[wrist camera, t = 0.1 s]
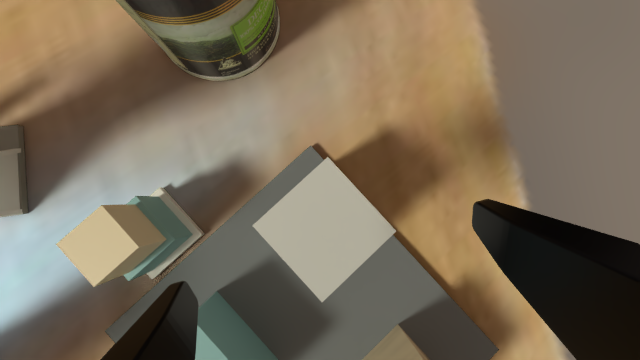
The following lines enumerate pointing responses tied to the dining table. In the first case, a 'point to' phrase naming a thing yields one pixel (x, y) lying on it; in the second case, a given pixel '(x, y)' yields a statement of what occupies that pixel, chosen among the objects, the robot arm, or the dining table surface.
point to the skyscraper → (12, 172)
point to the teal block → (226, 334)
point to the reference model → (131, 238)
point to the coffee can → (210, 33)
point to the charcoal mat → (303, 305)
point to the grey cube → (324, 229)
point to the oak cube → (396, 347)
